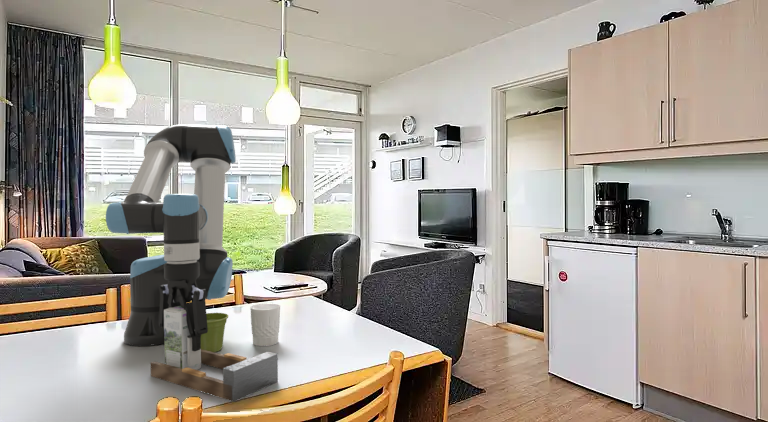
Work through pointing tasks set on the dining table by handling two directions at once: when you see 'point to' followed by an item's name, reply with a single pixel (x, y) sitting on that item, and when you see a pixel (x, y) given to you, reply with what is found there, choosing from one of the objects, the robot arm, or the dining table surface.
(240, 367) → the connector block
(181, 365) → the syrup box
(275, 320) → the white cup
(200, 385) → the brown parallel rails
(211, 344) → the plant pot
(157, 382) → the dining table surface
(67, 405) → the dining table surface
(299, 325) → the dining table surface
